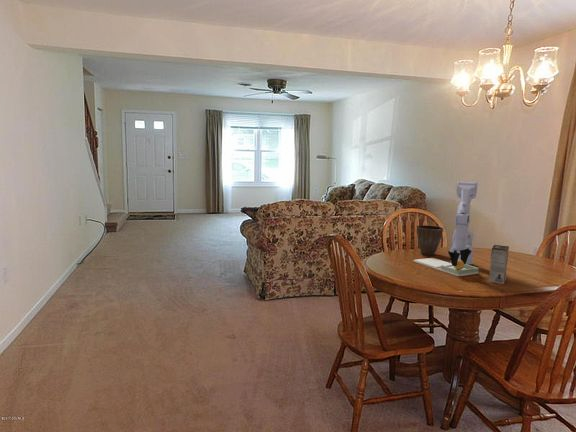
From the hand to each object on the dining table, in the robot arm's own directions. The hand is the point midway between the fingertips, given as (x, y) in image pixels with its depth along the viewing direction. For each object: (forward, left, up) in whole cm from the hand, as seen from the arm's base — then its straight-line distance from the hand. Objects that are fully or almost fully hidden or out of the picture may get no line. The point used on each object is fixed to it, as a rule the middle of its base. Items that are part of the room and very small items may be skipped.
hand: (458, 264), depth 197 cm
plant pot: (-15, -36, -4) cm, 39 cm away
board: (0, -9, -4) cm, 10 cm away
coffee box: (-5, +18, -4) cm, 19 cm away
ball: (0, 0, 0) cm, 0 cm away
